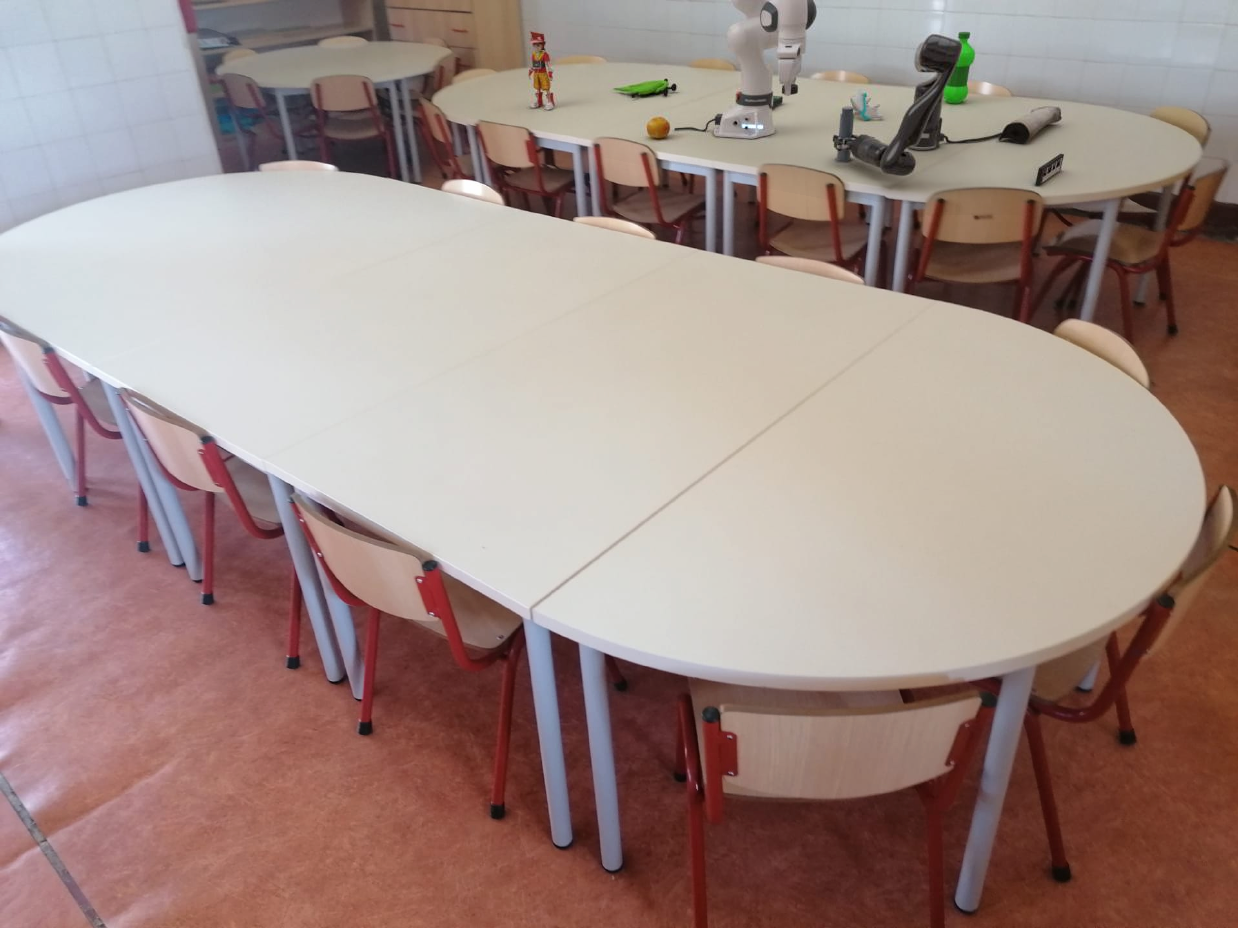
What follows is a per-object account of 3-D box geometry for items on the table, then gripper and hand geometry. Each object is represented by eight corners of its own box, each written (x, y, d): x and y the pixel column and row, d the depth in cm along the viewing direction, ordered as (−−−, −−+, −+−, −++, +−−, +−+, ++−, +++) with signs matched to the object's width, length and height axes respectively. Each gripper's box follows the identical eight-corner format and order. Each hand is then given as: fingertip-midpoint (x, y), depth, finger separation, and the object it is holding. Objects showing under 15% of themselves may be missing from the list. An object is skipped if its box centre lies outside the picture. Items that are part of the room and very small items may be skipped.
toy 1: (525, 109, 381) (517, 32, 364) (534, 104, 388) (527, 28, 371) (550, 110, 377) (543, 32, 360) (559, 105, 384) (553, 28, 367)
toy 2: (686, 85, 398) (631, 84, 414) (685, 72, 395) (629, 72, 411) (651, 104, 381) (596, 103, 397) (650, 92, 378) (594, 91, 394)
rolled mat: (1028, 111, 326) (1053, 93, 318) (1042, 132, 326) (1067, 115, 318) (994, 134, 309) (1019, 116, 300) (1008, 156, 309) (1034, 139, 301)
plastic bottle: (973, 101, 354) (984, 32, 339) (955, 106, 349) (966, 36, 335) (952, 97, 361) (962, 29, 346) (934, 102, 356) (944, 33, 342)
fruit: (639, 130, 331) (651, 110, 328) (647, 132, 339) (658, 113, 336) (657, 142, 330) (669, 123, 327) (664, 145, 338) (676, 126, 335)
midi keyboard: (1039, 185, 269) (1043, 168, 266) (1035, 184, 270) (1038, 168, 267) (1060, 170, 279) (1064, 154, 277) (1056, 169, 280) (1060, 153, 277)
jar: (834, 159, 302) (838, 107, 292) (845, 157, 303) (849, 105, 294) (841, 162, 298) (846, 110, 289) (852, 160, 300) (857, 108, 290)
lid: (799, 94, 291) (799, 86, 290) (783, 95, 291) (784, 88, 289) (795, 90, 295) (795, 83, 294) (780, 92, 295) (780, 84, 294)
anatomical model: (845, 89, 345) (871, 82, 345) (847, 116, 351) (873, 109, 351) (856, 98, 333) (883, 91, 332) (859, 126, 339) (885, 119, 338)
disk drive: (768, 112, 357) (782, 103, 367) (768, 105, 355) (783, 96, 365) (744, 110, 362) (759, 101, 372) (744, 103, 360) (759, 94, 370)
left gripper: (788, 41, 294) (786, 86, 302) (775, 53, 278) (773, 100, 286) (807, 41, 292) (804, 86, 300) (795, 53, 276) (793, 100, 284)
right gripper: (889, 134, 285) (860, 122, 299) (849, 141, 282) (822, 128, 295) (886, 158, 289) (858, 145, 303) (847, 165, 286) (820, 151, 299)
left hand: (789, 93), depth 293 cm, fingers closed on lid, 5 cm apart
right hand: (840, 137), depth 299 cm, fingers closed on jar, 4 cm apart
